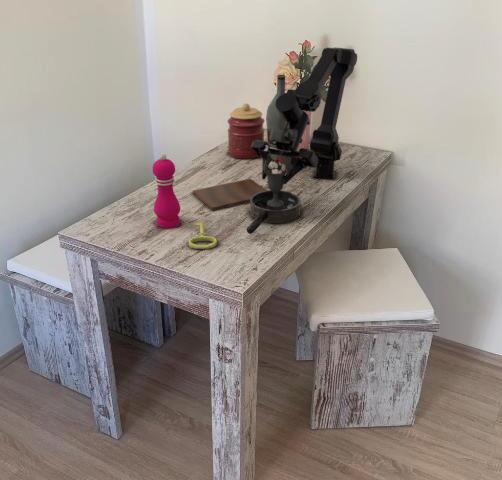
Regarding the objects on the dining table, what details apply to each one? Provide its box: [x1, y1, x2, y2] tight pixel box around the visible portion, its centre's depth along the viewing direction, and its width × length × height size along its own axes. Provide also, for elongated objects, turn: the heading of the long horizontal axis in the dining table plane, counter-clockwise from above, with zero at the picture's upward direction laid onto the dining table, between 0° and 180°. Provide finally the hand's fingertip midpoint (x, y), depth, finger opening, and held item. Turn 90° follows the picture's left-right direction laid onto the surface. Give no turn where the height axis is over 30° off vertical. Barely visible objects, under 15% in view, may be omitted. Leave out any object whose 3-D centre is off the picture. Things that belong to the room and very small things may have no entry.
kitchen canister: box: [227, 103, 266, 160], centre depth 203 cm, size 13×13×18 cm
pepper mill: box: [151, 153, 181, 229], centre depth 155 cm, size 7×7×20 cm
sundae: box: [264, 151, 288, 207], centre depth 160 cm, size 7×7×15 cm
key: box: [188, 220, 218, 250], centre depth 152 cm, size 7×12×2 cm, turn 23°
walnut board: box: [192, 178, 268, 211], centre depth 176 cm, size 20×14×1 cm
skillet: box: [249, 189, 302, 224], centre depth 164 cm, size 14×14×4 cm
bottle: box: [265, 74, 291, 169], centre depth 188 cm, size 9×9×30 cm
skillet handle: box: [246, 211, 268, 235], centre depth 154 cm, size 12×2×2 cm, turn 156°
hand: (273, 181), depth 159 cm, fingers closed on sundae, 6 cm apart
